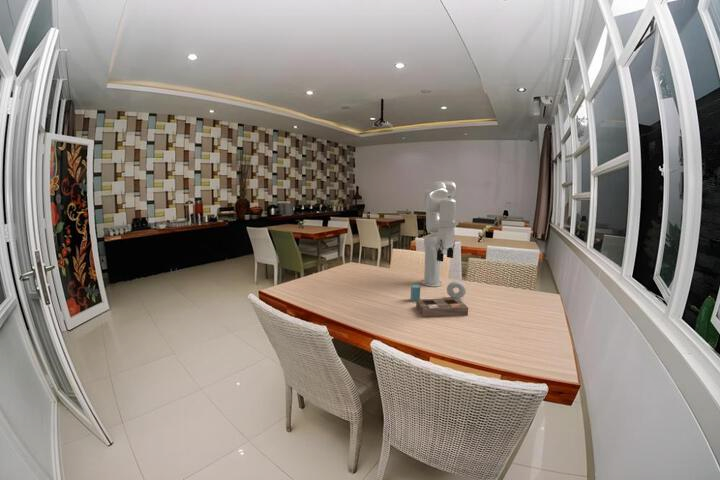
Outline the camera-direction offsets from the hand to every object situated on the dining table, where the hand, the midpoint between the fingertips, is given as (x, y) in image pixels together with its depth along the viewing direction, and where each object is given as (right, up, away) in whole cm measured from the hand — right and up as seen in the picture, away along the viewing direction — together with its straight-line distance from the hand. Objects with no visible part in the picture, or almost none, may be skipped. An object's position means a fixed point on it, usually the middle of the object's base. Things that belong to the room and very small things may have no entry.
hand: (445, 259), depth 141 cm
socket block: (-2, -26, +1) cm, 26 cm away
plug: (-12, -24, +15) cm, 30 cm away
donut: (+11, -23, +17) cm, 31 cm away
